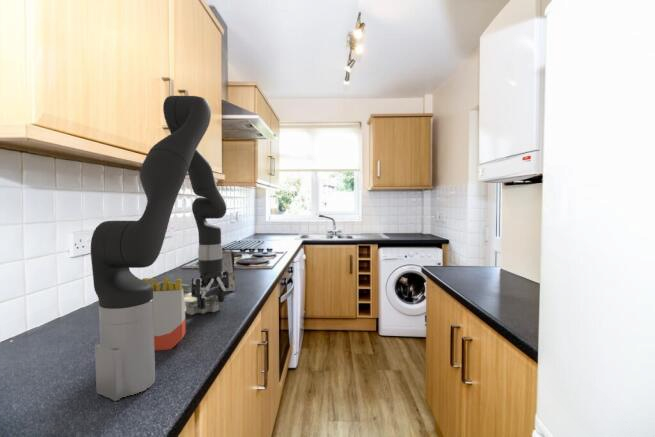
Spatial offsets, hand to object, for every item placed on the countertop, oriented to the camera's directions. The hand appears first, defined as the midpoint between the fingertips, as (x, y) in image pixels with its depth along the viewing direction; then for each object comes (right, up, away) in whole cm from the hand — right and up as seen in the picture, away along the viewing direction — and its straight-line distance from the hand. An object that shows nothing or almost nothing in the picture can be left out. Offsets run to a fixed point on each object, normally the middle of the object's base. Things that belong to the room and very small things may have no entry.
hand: (211, 305), depth 110 cm
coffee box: (-4, -1, +28) cm, 29 cm away
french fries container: (-4, -4, -26) cm, 27 cm away
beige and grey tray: (-19, -2, +9) cm, 21 cm away
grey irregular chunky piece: (-3, -2, +1) cm, 4 cm away
